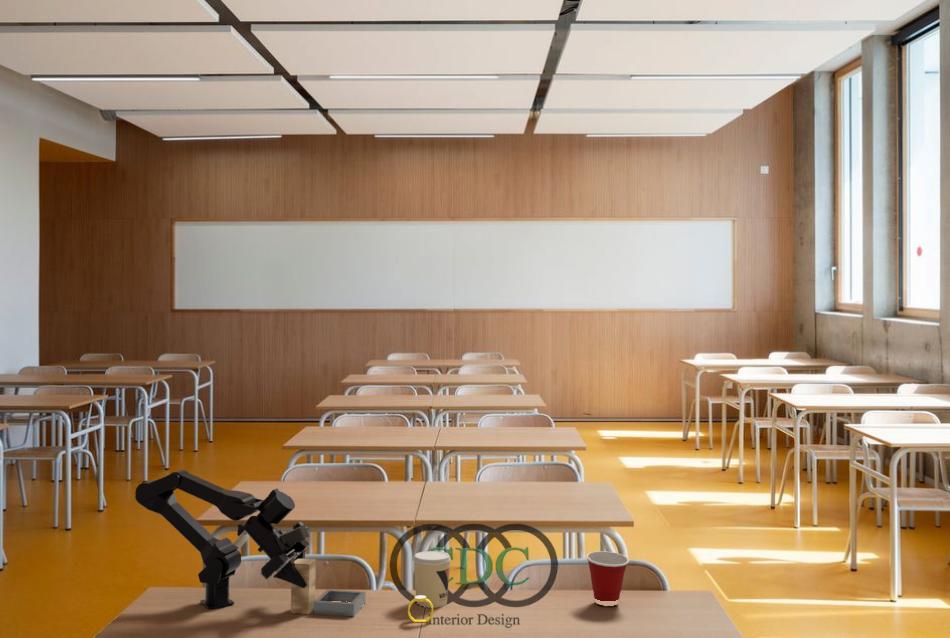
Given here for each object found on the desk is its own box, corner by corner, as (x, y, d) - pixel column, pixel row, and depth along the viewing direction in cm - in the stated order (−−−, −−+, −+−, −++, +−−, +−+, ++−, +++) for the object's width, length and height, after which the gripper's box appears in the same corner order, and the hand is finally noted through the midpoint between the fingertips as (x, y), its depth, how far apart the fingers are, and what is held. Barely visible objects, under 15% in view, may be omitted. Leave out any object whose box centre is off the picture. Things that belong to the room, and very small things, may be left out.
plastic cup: (605, 613, 213) (605, 564, 214) (576, 601, 222) (577, 554, 223) (638, 606, 219) (638, 558, 219) (608, 594, 228) (609, 548, 229)
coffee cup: (445, 610, 214) (445, 561, 214) (408, 607, 216) (409, 558, 216) (453, 598, 223) (454, 551, 224) (418, 596, 225) (419, 549, 226)
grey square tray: (313, 614, 210) (313, 601, 210) (327, 601, 220) (327, 589, 220) (353, 616, 209) (354, 604, 209) (365, 603, 218) (365, 591, 219)
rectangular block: (290, 613, 211) (291, 563, 211) (297, 607, 215) (298, 558, 215) (308, 614, 210) (309, 564, 210) (315, 608, 215) (315, 559, 215)
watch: (408, 625, 204) (406, 599, 204) (408, 621, 207) (407, 595, 207) (433, 623, 205) (432, 597, 205) (433, 619, 207) (432, 594, 207)
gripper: (274, 522, 204) (319, 572, 203) (302, 506, 223) (343, 551, 221) (242, 554, 205) (286, 604, 204) (272, 535, 224) (313, 581, 222)
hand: (308, 583), depth 213 cm, fingers closed on rectangular block, 4 cm apart
